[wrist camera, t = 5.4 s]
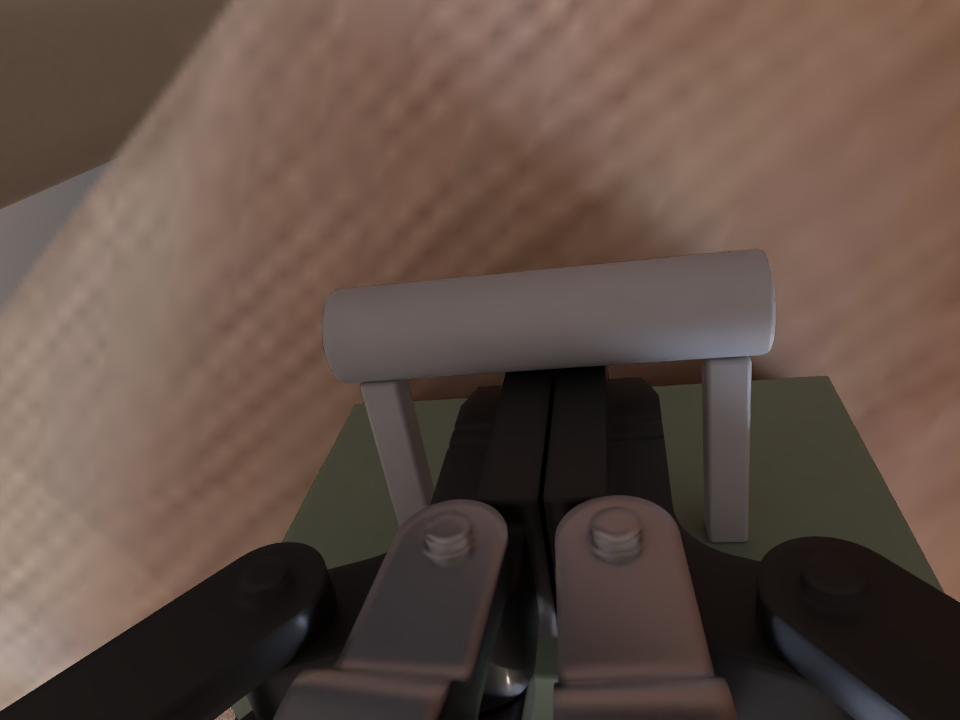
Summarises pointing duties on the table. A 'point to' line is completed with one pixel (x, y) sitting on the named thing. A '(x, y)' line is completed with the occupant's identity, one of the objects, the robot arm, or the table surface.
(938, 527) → the table surface
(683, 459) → the drawer
